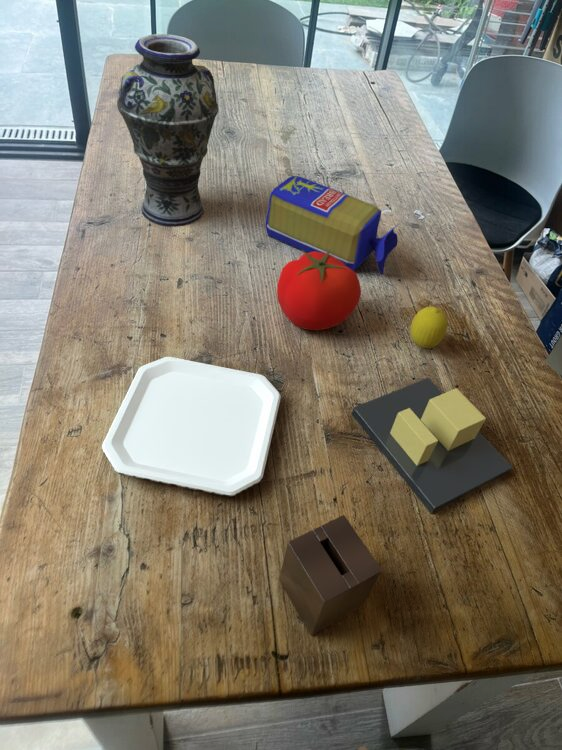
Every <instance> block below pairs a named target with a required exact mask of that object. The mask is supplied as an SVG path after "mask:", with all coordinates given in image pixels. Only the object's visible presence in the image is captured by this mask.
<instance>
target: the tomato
mask: <svg viewBox="0 0 562 750" xmlns="http://www.w3.org/2000/svg"><path fill="white" fill-rule="evenodd" d="M330 250H331V249H330ZM330 250H329V251H328V252H327V254H325V253H321V252H316V251H314V252H310V253H307V252H305V251H304V250H302V249H301V250H300V251H302V252H303V253H302V255H301V256H300V257H299V258H298V259H293V260H291V261H289V262H287V263H286V264H285V265H284V266H283V267H282V269H281V272H280V276H279V279H278V281H277V286H276V296H277V302H278V305H279V306H280V308H281V311H282V312H283V314H284V316H285V317H286V318H287V319H288V320H289V321H290V322H291V324H292V325H294V326H295V327H297V328H300V329H304V330H309V331H319V330H328V329H330V328H333V327H335V326H337V325H340V324H342V323H343V322H345V321H346V320H347V319H348V318H349V317H350V316H351V315H352V314H353V312H354V311H355V309H356V307H357V306H358V304H359V302H360V299H361V293H362V287H361V284H360V279H359V277H358V275H357V272H356V271H355V270H351V269H350V268H348V267H347V266H346V265H345V264H344V263H343V262H342V261H340V260H338V259H337V258H335V257H333V256H331V255H330V254H329V252H330Z"/></svg>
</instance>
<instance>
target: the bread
mask: <svg viewBox="0 0 562 750" xmlns="http://www.w3.org/2000/svg"><path fill="white" fill-rule="evenodd" d="M381 216H382V210H381V209H380V208H378V207H377V206H375V205H373V204H371V203H368V202H366V201H364V200H361V199H358V198H356V197H354V196H352V195H349V194H347V193H344V192H341V191H339V190H336V189H334V188H331V187H329V186H325V185H323V184H320V183H318V182H315V181H312V180H310V179H308V178H305V177H303V176H299V175H298V176H297V175H292V176H289V177H288V178H287V179H284V181H283V182H281V183H280V184H278V185H277V186H276V187H274V188H273V189H272V190H271V192H270V195H269V201H268V208H267V214H266V218H265V222H264V224H265V232H266V234H267V236H268V237H269V238H272V239H274V240H277V241H279V242H281V243H284V244H286V245H288V246H290V247H293V248H295V249H297V250H300V251H302V250H304V251H305V252H306V253H310V252H314V251H316V252H321V253H325V254H327V252H328V251H329V250H330V249H331V250H330V252H329V254H330V255H331V256H333V257H335V258H337V259H338V260H340V261H342V262H343V263H344V264H345V265H346V266H347V267H348V268H350V269H351V270H353V271H355V270H356V269H358V268H360V267H361V265H363V263H364V262H365V261H366V260H367V259H368V258H369V256H370V255H371V254H372V253H374V256H375V260H376V266H377V269H378V272H379V273H380V274H381V275H384V273H385V265H386V260H387V259H388V256H389V254H390V253H391V252H392V251H393V250H394V249H395V248H397V246H398V242H399V240H398V238H399V237H398V234H397V233H396V232H395V229H396V228H397V226H399V224H400V223H398V224H397V225H395V226H394V227H393V228H391V229H390V230H389V231H388V232H386V234H385V235H383V236H381V237H378V230H379V226H380V225H379V224H380V221H381ZM301 249H302V250H301Z"/></svg>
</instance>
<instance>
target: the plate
mask: <svg viewBox="0 0 562 750" xmlns="http://www.w3.org/2000/svg"><path fill="white" fill-rule="evenodd" d="M281 400H282V396H281V393H280V391H279V390H278V389H277V388H276V387H275V386H274V385H273V384H272V383H271V382H270V380H269V379H268V378H267V377H266V376H264V375H263V374H259V373H254V372H250V371H244V370H240V369H239V370H238V369H234V368H228V367H223V366H219V365H215V364H208V363H203V362H199V361H193V360H189V359H183V358H178V357H173V356H164V357H161V358H159V359H157V360H154V361H151V362H149V363H145V364H144V365H142V366H140V367H138V370H137V371H136V373H135V376H134V378H133V380H132V382H131V384H130V386H129V388H128V390H127V393H126V394H125V395H124V398H123V401H122V402H121V404H120V406H119V409H118V411H117V413H116V415H115V417H114V419H113V421H112V422H111V423H112V424H111V425H110V427H109V429H108V432H107V434H106V436H105V438H104V440H103V441H102V445H101V447H102V452H103V453H104V455H105V456H106V459H107V460H108V461H109V463H110V465H111V467H112V469H113V470H114V472H116V473H117V474H119V475H123V476H126V477H127V476H128V477H132V478H137V479H141V480H142V479H143V480H147V481H151V482H155V483H161V484H167V485H171V486H175V487H180V488H184V489H185V488H187V489H190V490H195V491H200V492H205V493H209V494H213V495H214V494H215V495H219V496H223V497H235V496H236V495H239V494H240V493H242V492H244V491H246V490H247V489H249V488H252V487H253V486H255V485H257V484H259V483H260V482H262V480H263V478H264V473H265V469H266V465H267V460H268V455H269V452H270V446H271V443H272V438H273V434H274V429H275V425H276V421H277V417H278V412H279V407H280V403H281Z"/></svg>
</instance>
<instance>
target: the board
mask: <svg viewBox="0 0 562 750" xmlns="http://www.w3.org/2000/svg"><path fill="white" fill-rule="evenodd" d="M442 394H444V392H442V390H440V388H438V386H437V385H436V384H435V383H434V382H433V381H432V380H431V379H430V378H429V377H427V378H424V379H422V380H419V381H417V382H415V383H412V384H409V385H407V386H404V387H402V388H399V389H397V390H394V391H392V392H391V391H390V392H389V393H387V394H384V395H382V396H379V397H377V398H374V399H372V400H368V401H366V402H364V403H362V404H359V405H356V406H354V407H353V408H352V411H351V415H352V417H353V418H354V419H355V420H356V422H357V423H358V424H359V425H360V427H361V428H362V429H363V430H364V432H365V433H366V434H367V435H368V437H369V438H370V439H371V440H372V442H373V443H374V444H375V446H376V447H377V448H378V449H379V450H380V452H381V453H382V454H383V455H384V457H385V458H386V460H387V461H388V462H389V463H390V464H391V466H392V467H393V468H394V469H395V471H396V472H397V473H398V474H399V476H401V478H402V479H403V480H404V482H405V483H406V484H407V485H408V487H409V488H410V489H411V491H412V492H413V493H414V494H415V496H416V497H417V498H418V499H419V500H420V502H421V503H422V505H423V506H424V507H425V509H426V510H428V512H429V513H430V514H431V515H432V514H434V513H437V512H438V511H440V510H443V509H444V508H447V507H448V506H450V505H452V504H454V503H456V502H457V501H459V500H461V499H463V498H465V497H467V496H468V495H470V494H472V493H474V492H476V491H478V490H480V489H482V488H484V487H486V486H487V485H489V484H492V483H494V482H495V481H497V480H500V479H501V478H503V477H505V476H507V475H509V474H510V472H511V471H512V469H513V468H514V467H513V466H512V464H510V462H508V460H507V459H506V458H505V457H504V456H503V455H502V454H501V453H500V452H499V450H497V449H496V447H494V445H492V443H491V442H490V441H489V440H488V439H487V438H486V437H485V436H484V435H483V434H482V433H481V432H480V431H479V432H478V433H477V435H476V437H475V439H472V440H470V441H468V442H466V443H464V444H462V445H460V446H458V447H456V448H453V449H451V450H449V451H448V450H447V449H446V448H445V447H444V446H443V445H442V443H441V442H440V441H439V440H438V439H437V438H436V439H437V440H438V442H437V444H436V446H435V448H434V450H433V452H432V454H431V456H430V458H429V460H428V461H426V462H424V463H422V464H420V465H418V466H417V465H416V464H415V463H414V462H413V461H412V459H411V458H410V457H409V456H408V454H407V453H406V452H405V451H404V450H403V448H402V447H401V446H400V445H399V444H398V442H397V441H396V440H395V439H394V438H393V436H392V435H391V434H390V432H391V429H392V427H393V424H394V422H395V419H396V417H397V414H398V413H399V412H401V411H403V410H406V409H408V408H410V409H411V410H412V411H413V412H414V414H415V415H416V416H417V417H418V418H419V419H420V420H421V418H422V416H423V413H424V411H425V409H426V407H427V405H428V402H429V400H430V399H432V398H434V397H437V396H439V395H442ZM422 423H423V422H422ZM423 424H424V423H423ZM424 425H425V424H424ZM425 426H426V425H425ZM426 427H427V426H426ZM429 431H430V430H429ZM430 432H431V431H430ZM431 433H432V432H431ZM432 434H433V433H432ZM433 435H434V434H433Z"/></svg>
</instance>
